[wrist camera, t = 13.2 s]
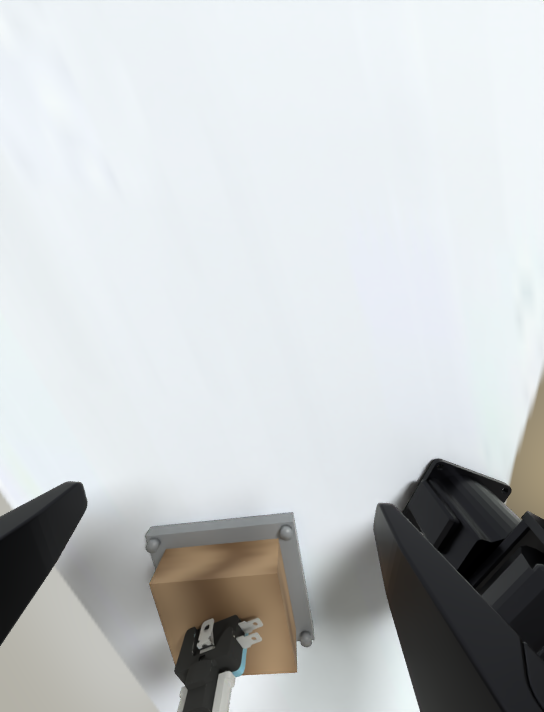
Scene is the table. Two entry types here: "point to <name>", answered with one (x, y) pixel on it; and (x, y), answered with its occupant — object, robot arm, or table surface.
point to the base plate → (241, 532)
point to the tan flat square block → (229, 598)
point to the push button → (213, 662)
